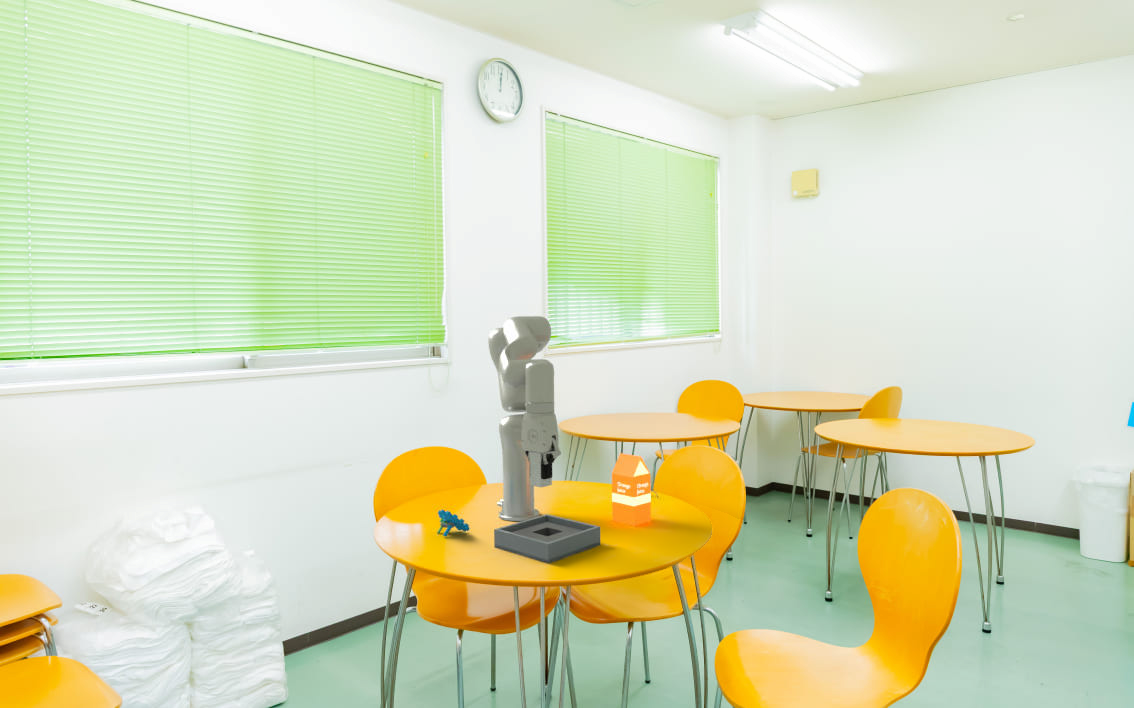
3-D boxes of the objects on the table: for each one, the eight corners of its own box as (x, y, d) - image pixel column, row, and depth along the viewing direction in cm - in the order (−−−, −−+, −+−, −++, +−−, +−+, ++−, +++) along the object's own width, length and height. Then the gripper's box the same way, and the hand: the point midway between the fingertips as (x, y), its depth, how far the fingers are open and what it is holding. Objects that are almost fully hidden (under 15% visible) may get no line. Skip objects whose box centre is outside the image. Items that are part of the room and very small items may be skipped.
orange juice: (629, 516, 219) (628, 451, 218) (651, 521, 212) (650, 455, 211) (611, 521, 213) (611, 454, 212) (633, 526, 207) (633, 458, 206)
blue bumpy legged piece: (477, 528, 199) (451, 507, 195) (466, 546, 196) (440, 526, 192) (457, 527, 208) (432, 507, 204) (446, 544, 205) (421, 525, 201)
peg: (530, 485, 188) (530, 451, 187) (541, 482, 191) (540, 449, 190) (540, 487, 185) (540, 453, 185) (551, 484, 188) (551, 451, 187)
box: (494, 548, 189) (494, 529, 188) (547, 531, 203) (546, 514, 203) (548, 564, 175) (547, 544, 175) (600, 545, 190) (600, 526, 190)
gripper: (508, 407, 190) (509, 475, 191) (552, 412, 178) (553, 484, 179) (529, 404, 195) (530, 470, 196) (572, 409, 184) (573, 479, 185)
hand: (541, 476), depth 188 cm, fingers closed on peg, 4 cm apart
